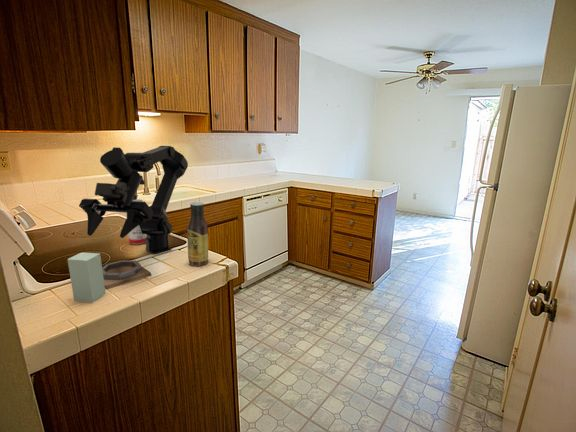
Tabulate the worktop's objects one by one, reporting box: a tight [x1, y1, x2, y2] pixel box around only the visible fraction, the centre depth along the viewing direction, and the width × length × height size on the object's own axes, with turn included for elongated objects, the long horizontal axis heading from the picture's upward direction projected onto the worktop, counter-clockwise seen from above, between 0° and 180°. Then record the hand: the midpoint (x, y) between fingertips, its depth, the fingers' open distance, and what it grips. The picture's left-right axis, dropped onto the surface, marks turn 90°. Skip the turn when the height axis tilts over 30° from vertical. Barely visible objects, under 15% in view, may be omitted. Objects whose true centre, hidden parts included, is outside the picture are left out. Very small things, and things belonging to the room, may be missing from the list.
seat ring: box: [102, 259, 142, 280], centre depth 90 cm, size 10×10×2 cm
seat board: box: [104, 265, 152, 290], centre depth 91 cm, size 12×12×1 cm
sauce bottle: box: [186, 201, 209, 267], centre depth 98 cm, size 6×6×20 cm
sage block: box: [66, 252, 106, 303], centre depth 77 cm, size 4×5×11 cm
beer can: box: [125, 199, 147, 246], centre depth 115 cm, size 6×6×16 cm
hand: (105, 236), depth 83 cm, fingers open, 9 cm apart
